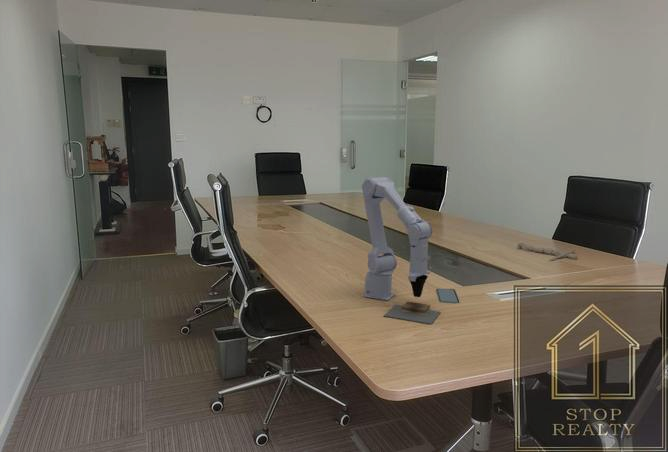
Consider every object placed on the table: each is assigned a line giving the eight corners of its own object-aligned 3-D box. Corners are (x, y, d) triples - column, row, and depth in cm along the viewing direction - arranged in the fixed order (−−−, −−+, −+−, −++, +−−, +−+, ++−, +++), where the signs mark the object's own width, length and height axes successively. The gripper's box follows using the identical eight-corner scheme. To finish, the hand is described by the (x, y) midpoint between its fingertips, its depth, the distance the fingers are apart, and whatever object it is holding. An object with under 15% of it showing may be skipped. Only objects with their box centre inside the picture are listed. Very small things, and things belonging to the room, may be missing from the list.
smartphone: (439, 302, 179) (435, 288, 193) (439, 304, 179) (435, 290, 193) (460, 302, 178) (455, 289, 192) (460, 305, 178) (455, 291, 192)
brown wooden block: (407, 305, 174) (401, 310, 169) (407, 301, 174) (402, 306, 169) (429, 309, 171) (425, 314, 165) (429, 304, 170) (425, 310, 165)
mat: (383, 316, 164) (383, 315, 164) (395, 305, 175) (395, 304, 175) (431, 324, 158) (431, 323, 158) (440, 312, 168) (440, 311, 168)
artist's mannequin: (505, 254, 256) (563, 267, 234) (506, 246, 255) (564, 259, 233) (532, 245, 274) (588, 257, 252) (533, 237, 273) (589, 249, 251)
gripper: (424, 263, 159) (422, 304, 162) (436, 254, 172) (434, 292, 175) (403, 261, 162) (402, 301, 165) (416, 252, 175) (414, 289, 178)
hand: (417, 296), depth 170 cm, fingers closed
